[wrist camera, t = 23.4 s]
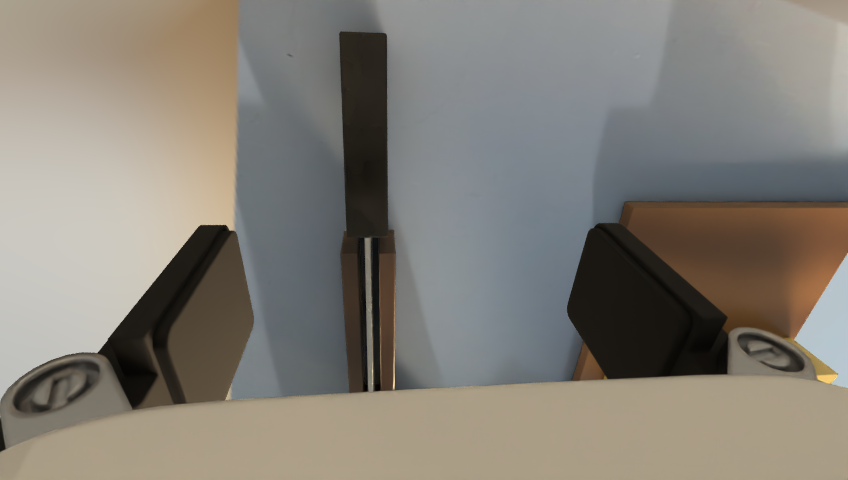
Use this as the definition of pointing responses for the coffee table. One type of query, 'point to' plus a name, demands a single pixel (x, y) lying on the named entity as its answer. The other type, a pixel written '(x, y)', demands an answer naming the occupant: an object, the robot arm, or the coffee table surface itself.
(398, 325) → the coffee table surface
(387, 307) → the knife holder
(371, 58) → the knife
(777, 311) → the board
